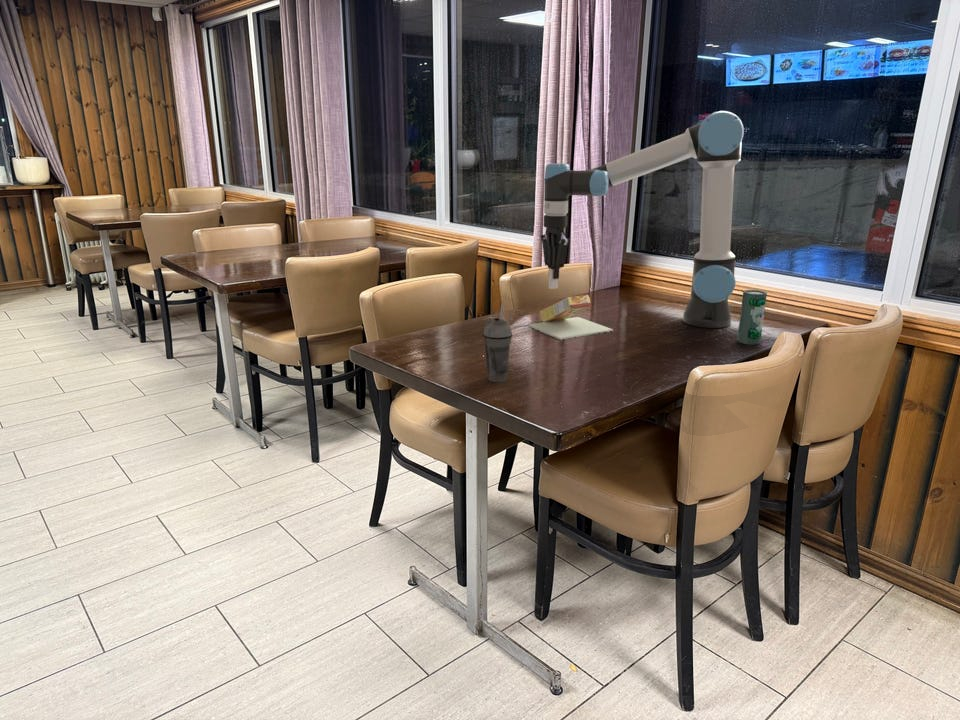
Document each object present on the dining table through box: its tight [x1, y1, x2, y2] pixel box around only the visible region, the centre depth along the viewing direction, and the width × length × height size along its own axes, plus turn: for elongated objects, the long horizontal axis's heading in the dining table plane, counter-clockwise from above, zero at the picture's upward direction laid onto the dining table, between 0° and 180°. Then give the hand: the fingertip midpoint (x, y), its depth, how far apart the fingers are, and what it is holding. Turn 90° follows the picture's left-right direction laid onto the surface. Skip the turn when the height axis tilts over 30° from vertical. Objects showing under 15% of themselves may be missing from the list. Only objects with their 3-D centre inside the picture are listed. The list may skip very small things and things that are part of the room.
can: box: [736, 289, 768, 345], centre depth 195 cm, size 6×6×15 cm
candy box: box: [539, 294, 592, 322], centre depth 214 cm, size 9×4×15 cm
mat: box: [527, 316, 614, 341], centre depth 211 cm, size 18×20×1 cm
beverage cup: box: [482, 300, 513, 383], centre depth 164 cm, size 7×7×20 cm
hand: (553, 288), depth 216 cm, fingers closed
